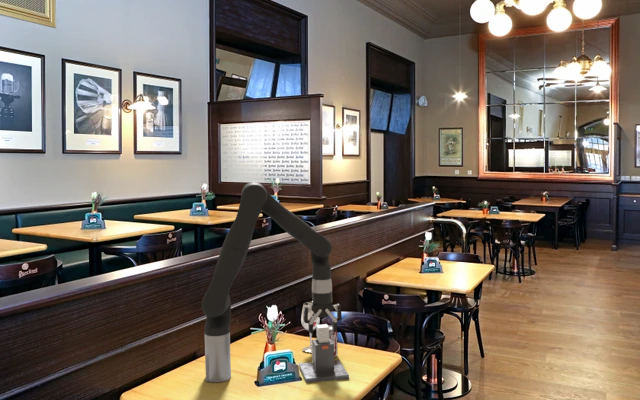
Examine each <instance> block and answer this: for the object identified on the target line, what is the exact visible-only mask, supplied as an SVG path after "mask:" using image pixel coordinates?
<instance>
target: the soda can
mask: <svg viewBox="0 0 640 400" xmlns="http://www.w3.org/2000/svg"><path fill="white" fill-rule="evenodd" d="M328 327H329V338H330V339H331V340H332V342H333V343H334V358H335V357H337V356H338V331H335V332H333V331H332V325H328Z"/></svg>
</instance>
